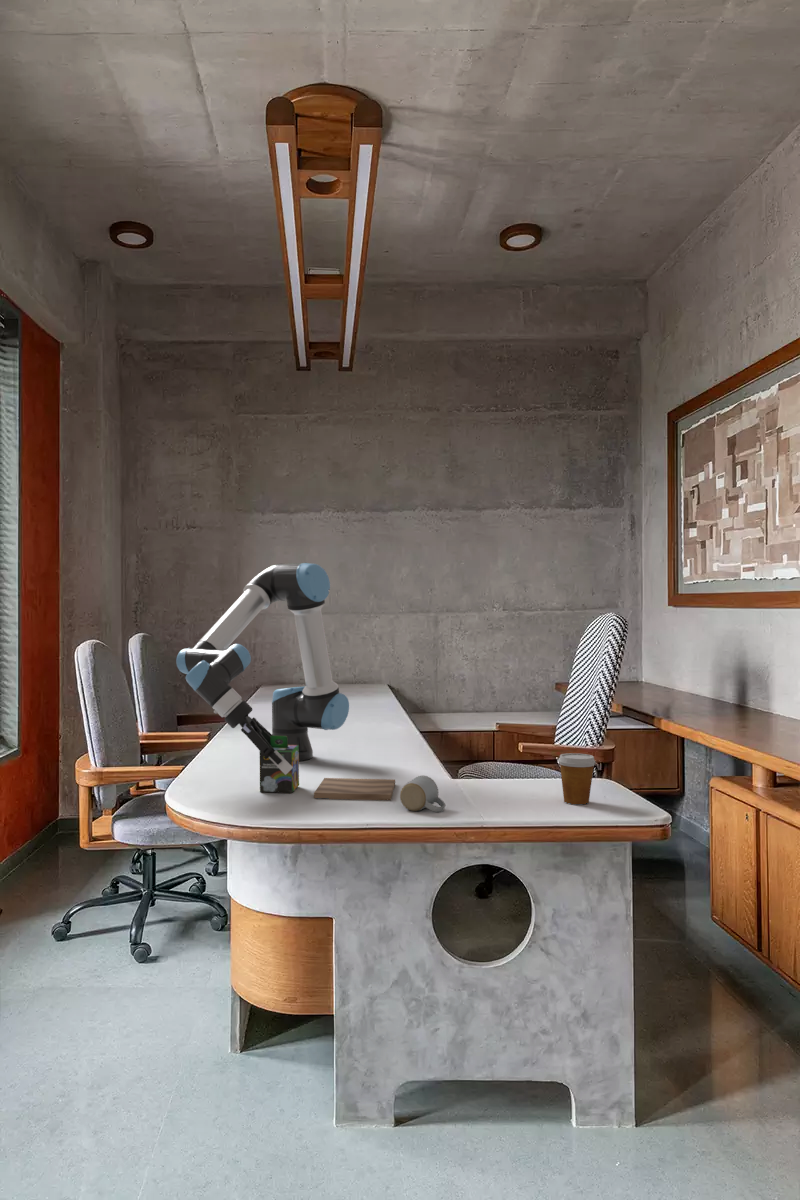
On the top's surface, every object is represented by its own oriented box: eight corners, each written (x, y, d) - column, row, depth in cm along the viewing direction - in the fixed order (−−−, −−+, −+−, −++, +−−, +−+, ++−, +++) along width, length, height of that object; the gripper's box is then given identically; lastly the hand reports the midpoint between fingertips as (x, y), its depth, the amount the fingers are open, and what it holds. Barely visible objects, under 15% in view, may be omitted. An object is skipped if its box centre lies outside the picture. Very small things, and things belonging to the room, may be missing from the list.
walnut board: (324, 783, 252) (324, 777, 252) (395, 784, 251) (395, 779, 251) (313, 798, 232) (314, 792, 232) (390, 800, 231) (390, 794, 231)
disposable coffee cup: (598, 806, 226) (599, 759, 226) (560, 806, 226) (561, 758, 226) (591, 798, 236) (591, 753, 236) (555, 798, 236) (555, 752, 236)
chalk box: (299, 786, 246) (300, 732, 247) (292, 793, 237) (293, 737, 237) (266, 785, 247) (267, 732, 247) (258, 792, 238) (259, 737, 238)
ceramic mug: (397, 810, 220) (398, 779, 220) (410, 803, 227) (411, 773, 227) (437, 815, 215) (438, 784, 215) (449, 808, 223) (450, 778, 223)
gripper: (229, 713, 253) (285, 769, 253) (216, 724, 231) (276, 785, 231) (248, 695, 253) (303, 751, 253) (237, 703, 231) (297, 765, 231)
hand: (291, 767), depth 242 cm, fingers closed on chalk box, 10 cm apart
